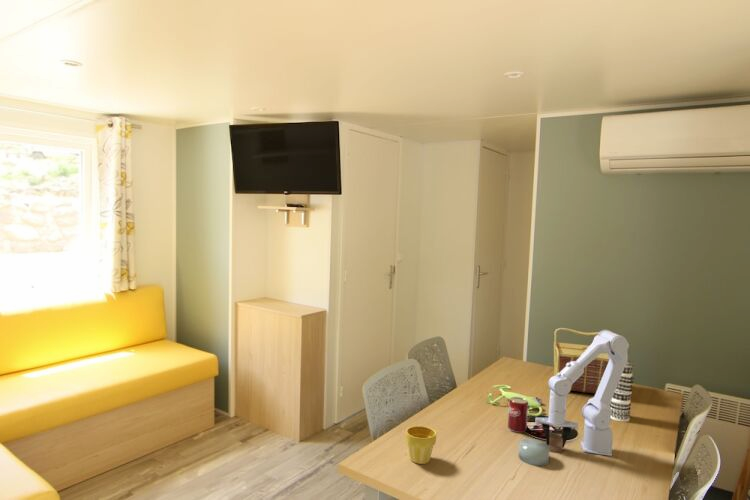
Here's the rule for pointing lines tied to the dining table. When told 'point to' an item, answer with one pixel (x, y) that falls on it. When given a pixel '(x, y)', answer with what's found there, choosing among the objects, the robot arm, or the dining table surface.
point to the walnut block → (555, 442)
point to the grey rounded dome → (534, 452)
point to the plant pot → (420, 443)
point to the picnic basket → (571, 353)
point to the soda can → (517, 414)
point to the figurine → (531, 400)
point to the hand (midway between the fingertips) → (555, 445)
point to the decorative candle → (622, 396)
